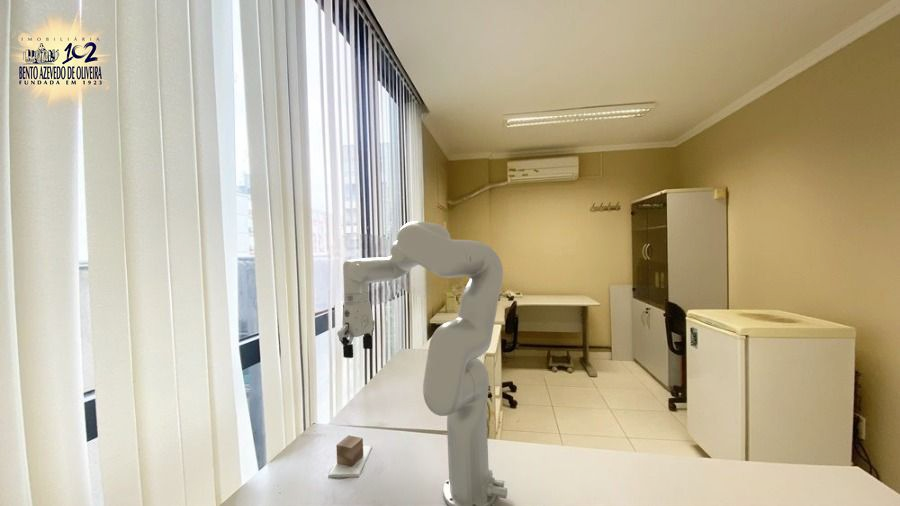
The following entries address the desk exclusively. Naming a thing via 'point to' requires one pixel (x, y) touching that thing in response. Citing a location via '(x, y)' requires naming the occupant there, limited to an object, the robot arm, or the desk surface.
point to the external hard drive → (350, 471)
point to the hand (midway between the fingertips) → (358, 352)
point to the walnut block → (349, 450)
